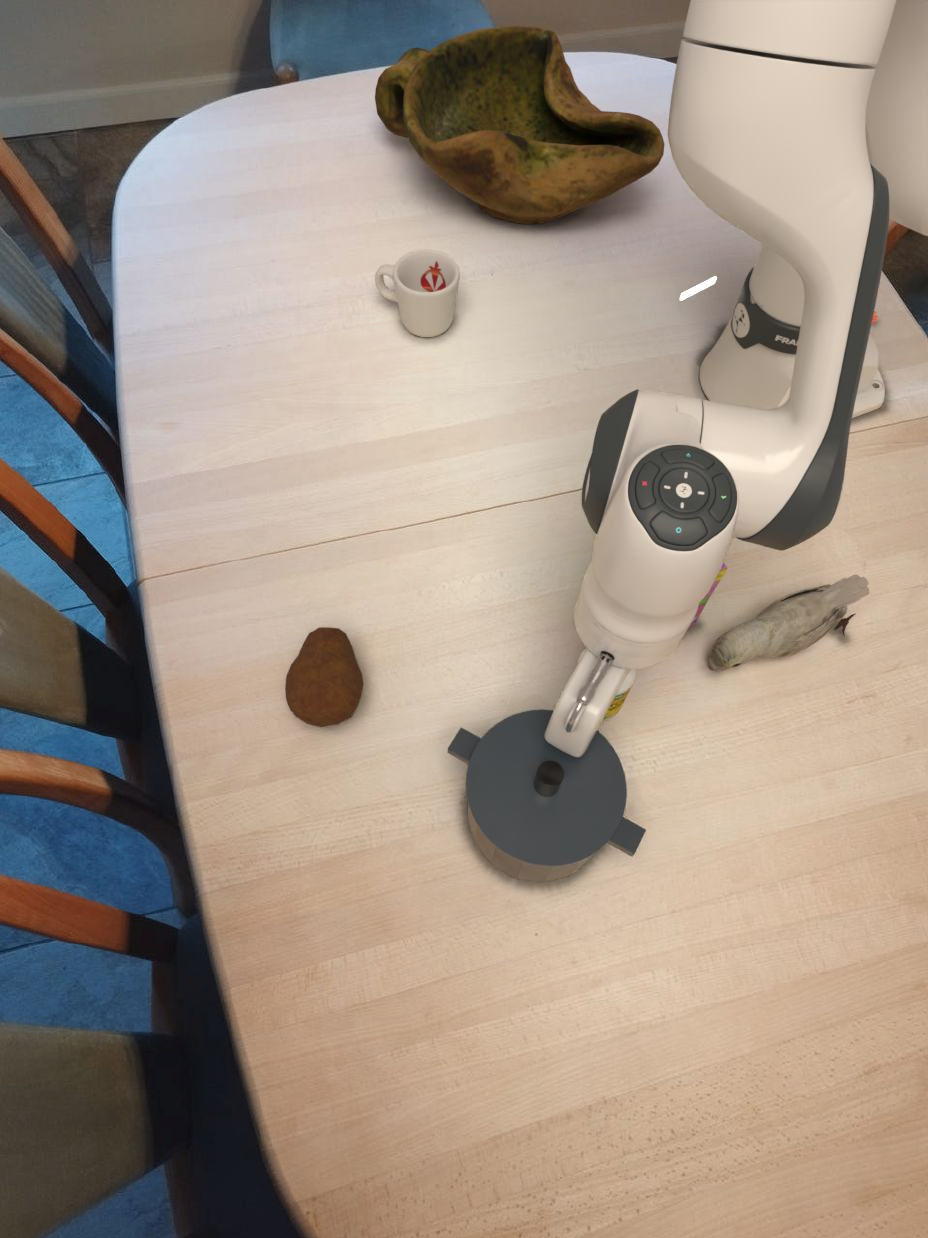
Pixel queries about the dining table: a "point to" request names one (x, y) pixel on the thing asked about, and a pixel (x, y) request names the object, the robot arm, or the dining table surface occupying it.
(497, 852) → the pot
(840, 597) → the decorative bird
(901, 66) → the robot arm
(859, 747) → the dining table surface
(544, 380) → the dining table surface
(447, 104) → the bowl
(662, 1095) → the dining table surface
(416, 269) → the cup
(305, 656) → the potato
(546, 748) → the pot lid
